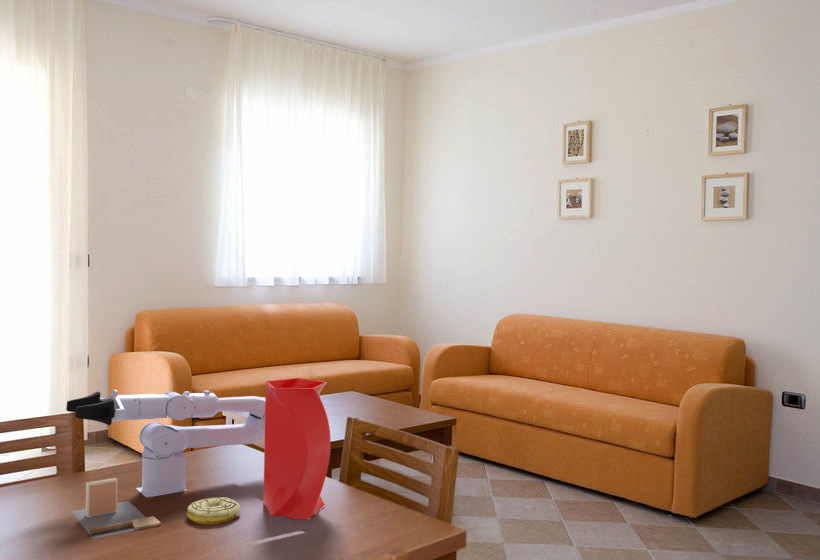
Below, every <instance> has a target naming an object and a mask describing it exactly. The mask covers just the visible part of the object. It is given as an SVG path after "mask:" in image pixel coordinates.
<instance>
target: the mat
mask: <svg viewBox="0 0 820 560" xmlns="http://www.w3.org/2000/svg"><path fill="white" fill-rule="evenodd" d="M70 513H71V514H72V515H73V516H74V517H75V519H76V520H77V521H78V523H80V525H81V526H82V528H84V530H85V531H86V532H87V534H88V535H89V536H90V537H91V538H92V539H93V540H94V539H99V538H104V537H105V538H106V537H109V536H113V535H119V534H124V533H129V532H133V531H136V530H135V529H134V528H133V527H127V528H122V529H118V530H113V531H108V532H104V533H99V534H94V535H90V533H89V530H90V529H92V528H97V527H102V526H107V525H111V524H116V523H121V522H126V521H131V520H136V519H141V518H145V517H146V516H145V515H144V514H143V513H142V512H141V511H140V510H139V509H138V508H137V507H136V506H135V505H133V504H132V503H131V502H130V501H129V500H127V501H121V502H120V501H119V502H117V512H113V513H108V514H103V515H97V516H92V517H87V516H86V508H82V509H80V508H79V509H76V510H70ZM153 527H155V526H152V527H151V528H153ZM149 528H150V527H148V529H149ZM143 529H144V530H145V528H143ZM143 529H142V530H143Z"/></svg>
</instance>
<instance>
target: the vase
mask: <svg viewBox="0 0 820 560" xmlns="http://www.w3.org/2000/svg"><path fill="white" fill-rule="evenodd" d="M327 384H328V382H327V381H322V380H315V379H309V378H303V377H292V378H283V379H275V380H274V379H272V380H266V381H265V396H264V397H265V437H264V445H263V446H264V450H263V451H264V452H263V453H264V456H263V457H264V458H263V499H262V500H263V502H262V504H263V505H264V507H265V509H266V510H267V512H268V513H269V514H270V516H271V517H281V516H282V517H287V518H289V519H290V520H309V519H308V518H310V519H312V518H313V517H314V516H315V515H316V514H315V513H317V512H318V511H319V510H320V509H321V508H322V507H323V506H324V505H325V506H326V504H325V503H324V500H323V498H322V496H321V494H322V490H323V487H324V484H325V480H326V476H327V473H328V467H329V464H330V463H329V462H330V456H331V429H330V428H331V427H330V421H329V417H328V414H327V411H326V408H325V405H324V403H323V401H322V399H321V391H322V390H323V389H324V387H325V386H326V385H327ZM319 512H320V511H319ZM319 512H318V513H319ZM318 513H317V514H318ZM314 514H315V515H314ZM313 515H314V516H313ZM312 516H313V517H312ZM311 517H312V518H311ZM291 518H293V519H291ZM295 518H296V519H295ZM301 518H302V519H301Z"/></svg>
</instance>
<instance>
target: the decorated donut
mask: <svg viewBox="0 0 820 560" xmlns="http://www.w3.org/2000/svg"><path fill="white" fill-rule="evenodd" d="M240 514H241V505H240V504H239V503H238V502H237V501H236V500H235V499H232V498H229V497H224V496H223V497H219V496H218V497H208V498H203V499H199V500H196V501H194V502H192V503H190V504H189V505H188V506H187V511H186V516H187V518H188V519H189V521H191V522H193V523H195V524H198V525H205V526H207V525H219V524H220V525H221V524H225V523H228V522H230V521H233V520H234V519H236V518H237V517H239V516H240Z"/></svg>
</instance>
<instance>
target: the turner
mask: <svg viewBox="0 0 820 560" xmlns="http://www.w3.org/2000/svg"><path fill="white" fill-rule="evenodd" d="M152 526H154V527H158V526H161V521H160V520H158V519H157V518H156V517H155V516H154V515H152V516H147V517H146V516H145V518H141V519H136V520H131V521H126V522H121V523H116V524H111V525H107V526H102V527H97V528H92V529H90V530H89V533H90V534H89V533H88V534H89V536H90V535H94V534H99V533H104V532H108V531H113V530H118V529H122V528H127V527H133V528H134V529H135V530H134V531H138V530H143V528H144V529H147V528H148V527H149V528H153V527H152ZM149 528H148V529H149Z"/></svg>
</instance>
